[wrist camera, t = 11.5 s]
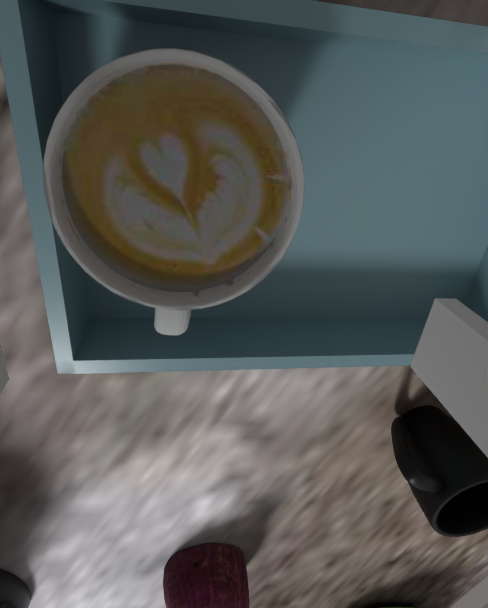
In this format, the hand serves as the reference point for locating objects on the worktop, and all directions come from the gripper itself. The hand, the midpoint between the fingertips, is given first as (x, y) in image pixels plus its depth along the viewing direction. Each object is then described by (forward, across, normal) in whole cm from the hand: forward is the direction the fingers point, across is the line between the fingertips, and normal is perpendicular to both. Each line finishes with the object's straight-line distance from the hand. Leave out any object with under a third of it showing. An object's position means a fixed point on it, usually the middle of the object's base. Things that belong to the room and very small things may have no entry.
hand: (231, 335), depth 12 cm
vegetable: (+17, +2, -46) cm, 49 cm away
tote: (+16, +7, 0) cm, 18 cm away
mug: (+17, +22, -22) cm, 35 cm away
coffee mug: (+16, -2, +1) cm, 16 cm away
